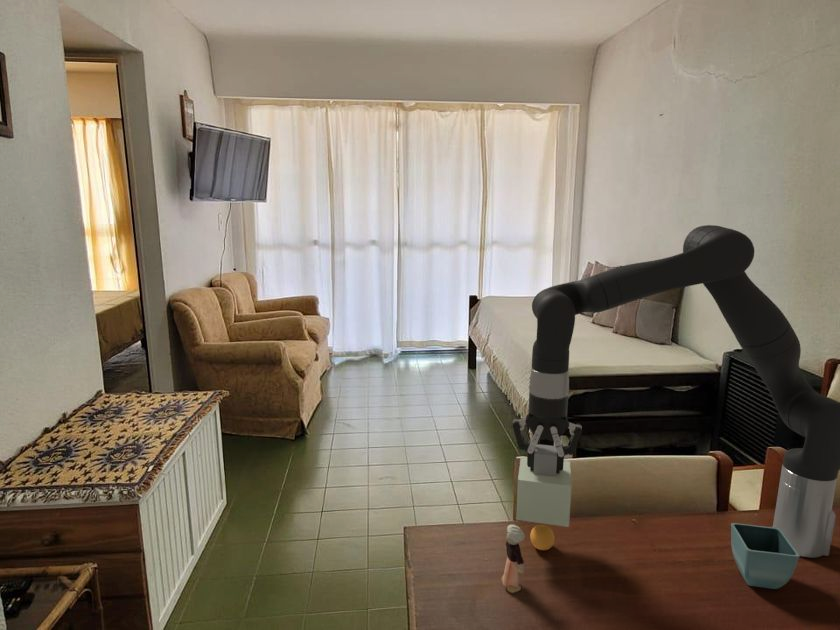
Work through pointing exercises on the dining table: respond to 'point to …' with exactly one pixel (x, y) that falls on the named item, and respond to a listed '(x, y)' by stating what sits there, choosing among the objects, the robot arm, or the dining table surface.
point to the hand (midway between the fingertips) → (544, 469)
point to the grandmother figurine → (513, 559)
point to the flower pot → (763, 555)
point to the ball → (542, 537)
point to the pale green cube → (544, 489)
